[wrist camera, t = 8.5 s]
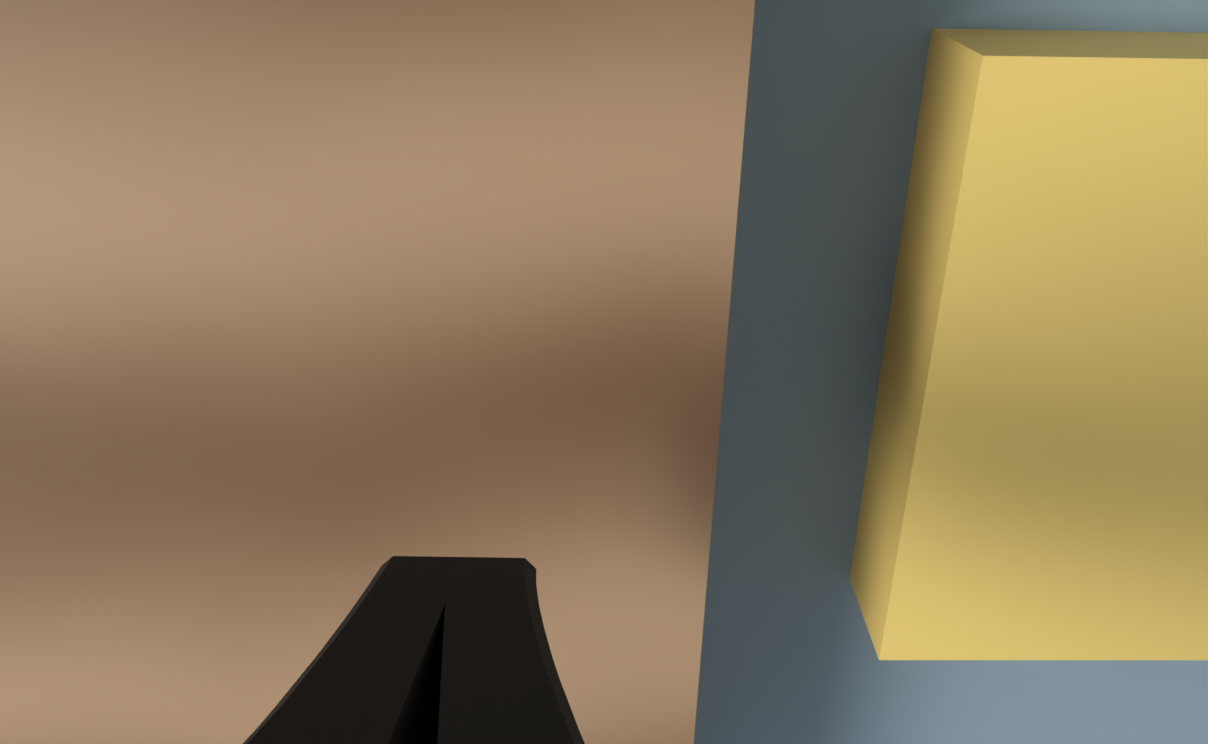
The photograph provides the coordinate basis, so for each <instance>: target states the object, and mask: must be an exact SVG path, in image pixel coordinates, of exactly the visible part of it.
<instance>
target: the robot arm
mask: <svg viewBox="0 0 1208 744" xmlns="http://www.w3.org/2000/svg"><path fill="white" fill-rule="evenodd" d="M243 744H585V743H584V740H583V738H582V736H581V733H580V731H579V729H578V726H577V723H576V721H575V718H574V715H573V713H572V710H571V708H570V705H569V702H568V700H567V697H566V694H565V692H564V689H563V686H562V684H561V681H560V679H559V675H558V672H557V669H556V666H555V663H554V660H553V657H552V654H551V650H550V647H549V643H548V640H547V636H546V632H545V629H544V625H543V621H542V616H541V612H540V607H539V601H538V594H537V585H536V568H535V567H534V566H533V565H532V564H531V563H530V562H529V561H527V560H526V559H525V558H496V557H428V556H392V557H391V558H390V559H389V560H388V561H386V562H385V563H384V564H383V565H382V566H381V567H380V569H379V570H378V572H377V573H376V575H375V576H374V578H373V579H372V581H371V582H370V584H369V585H368V587H367V588H366V589H365V591H364V592H363V594H362V595H361V597H360V598H359V599H358V601H357V602H356V604H355V605H354V607H353V608H352V609H351V611H350V612H349V613H348V615H347V616H346V618H345V619H344V620H343V622H342V623H341V624H340V626H339V627H338V628H337V630H336V631H335V632H334V634H333V635H332V636H331V638H330V639H329V640H328V642H327V643H326V644H325V646H324V647H323V648H322V650H321V651H320V652H319V653H318V655H317V656H316V657H315V658H314V660H313V661H312V662H311V663H310V665H309V666H308V667H307V668H306V669H305V671H304V672H303V673H302V674H301V676H300V677H299V678H298V679H297V681H296V682H295V683H294V684H293V685H292V687H291V688H290V689H289V690H288V692H287V693H286V694H285V695H284V697H283V698H282V699H281V700H280V701H279V703H278V704H277V705H276V706H275V708H274V709H273V710H272V711H271V712H270V714H269V715H268V716H267V717H266V718H265V719H264V721H263V722H262V723H261V724H260V725H259V726H258V727H257V729H256V730H255V731H254V732H253V733H252V734H251V735H250V736H249V737H248V738H247V740H246V741H245V742H244V743H243Z"/></svg>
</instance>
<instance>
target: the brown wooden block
mask: <svg viewBox="0 0 1208 744" xmlns="http://www.w3.org/2000/svg"><path fill="white" fill-rule="evenodd" d="M754 7H755V0H0V744H243V743H244V742H245V741H246V740H247V738H248V737H249V736H250V735H251V734H252V733H253V732H254V731H255V730H256V729H257V727H258V726H259V725H260V724H261V723H262V722H263V721H264V719H265V718H266V717H267V716H268V715H269V714H270V712H271V711H272V710H273V709H274V708H275V706H276V705H277V704H278V703H279V701H280V700H281V699H282V698H283V697H284V695H285V694H286V693H287V692H288V690H289V689H290V688H291V687H292V685H293V684H294V683H295V682H296V681H297V679H298V678H299V677H300V676H301V674H302V673H303V672H304V671H305V669H306V668H307V667H308V666H309V665H310V663H311V662H312V661H313V660H314V658H315V657H316V656H317V655H318V653H319V652H320V651H321V650H322V648H323V647H324V646H325V644H326V643H327V642H328V640H329V639H330V638H331V636H332V635H333V634H334V632H335V631H336V630H337V628H338V627H339V626H340V624H341V623H342V622H343V620H344V619H345V618H346V616H347V615H348V613H349V612H350V611H351V609H352V608H353V607H354V605H355V604H356V602H357V601H358V599H359V598H360V597H361V595H362V594H363V592H364V591H365V589H366V588H367V587H368V585H369V584H370V582H371V581H372V579H373V578H374V576H375V575H376V573H377V572H378V570H379V569H380V567H381V566H382V565H383V564H384V563H385V562H386V561H388V560H389V559H390V558H391V557H392V556H428V557H496V558H525V559H526V560H527V561H529V562H530V563H531V564H532V565H533V566H534V567H535V568H536V585H537V594H538V601H539V607H540V612H541V616H542V621H543V625H544V629H545V632H546V636H547V640H548V643H549V647H550V650H551V654H552V657H553V660H554V663H555V666H556V669H557V672H558V675H559V679H560V681H561V684H562V686H563V689H564V692H565V694H566V697H567V700H568V702H569V705H570V708H571V710H572V713H573V715H574V718H575V721H576V723H577V726H578V729H579V731H580V733H581V736H582V738H583V740H584V743H585V744H694V732H695V720H696V708H697V696H698V684H699V672H700V660H701V648H702V636H703V623H704V611H705V599H706V587H707V575H708V563H709V551H710V539H711V527H712V515H713V503H714V491H715V478H716V466H717V454H718V442H719V430H720V418H721V406H722V394H723V382H724V370H725V358H726V345H727V333H728V321H729V309H730V297H731V285H732V273H733V261H734V249H735V237H736V225H737V213H738V200H739V188H740V176H741V164H742V152H743V140H744V128H745V116H746V104H747V92H748V80H749V68H750V55H751V43H752V31H753V19H754Z"/></svg>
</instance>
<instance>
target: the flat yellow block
mask: <svg viewBox="0 0 1208 744" xmlns="http://www.w3.org/2000/svg"><path fill="white" fill-rule="evenodd" d="M850 582H851V585H852V587H853V590H854V593H855V596H856V598H857V601H858V604H859V607H860V609H861V612H862V615H863V618H864V620H865V623H866V626H867V629H868V631H869V634H870V637H871V640H872V642H873V645H874V648H875V651H876V653H877V656H878V659H879V660H1208V33H1197V32H1132V31H1067V30H1002V29H937V28H932V30H931V36H930V43H929V50H928V56H927V63H926V70H925V76H924V83H923V90H922V97H921V103H920V110H919V117H918V123H917V130H916V137H915V143H914V150H913V157H912V164H911V170H910V177H909V184H908V190H907V197H906V204H905V210H904V217H903V224H902V231H901V237H900V244H899V251H898V257H897V264H896V271H895V277H894V284H893V291H892V298H891V304H890V311H889V318H888V324H887V331H886V338H885V344H884V351H883V358H882V365H881V371H880V378H879V385H878V391H877V398H876V405H875V411H874V418H873V425H872V432H871V438H870V445H869V452H868V458H867V465H866V472H865V478H864V485H863V492H862V499H861V505H860V512H859V519H858V525H857V532H856V539H855V546H854V552H853V559H852V566H851V572H850Z"/></svg>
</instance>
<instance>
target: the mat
mask: <svg viewBox="0 0 1208 744" xmlns="http://www.w3.org/2000/svg"><path fill="white" fill-rule="evenodd" d="M932 28H937V29H1002V30H1067V31H1132V32H1197V33H1208V0H755V7H754V19H753V31H752V43H751V55H750V68H749V80H748V92H747V104H746V116H745V128H744V140H743V152H742V164H741V176H740V188H739V200H738V213H737V225H736V237H735V249H734V261H733V273H732V285H731V297H730V309H729V321H728V333H727V345H726V358H725V370H724V382H723V394H722V406H721V418H720V430H719V442H718V454H717V466H716V478H715V491H714V503H713V515H712V527H711V539H710V551H709V563H708V575H707V587H706V599H705V611H704V623H703V636H702V648H701V660H700V672H699V684H698V696H697V708H696V720H695V732H694V744H1208V660H879V659H878V656H877V653H876V651H875V648H874V645H873V642H872V640H871V637H870V634H869V631H868V629H867V626H866V623H865V620H864V618H863V615H862V612H861V609H860V607H859V604H858V601H857V598H856V596H855V593H854V590H853V587H852V585H851V582H850V572H851V566H852V559H853V552H854V546H855V539H856V532H857V525H858V519H859V512H860V505H861V499H862V492H863V485H864V478H865V472H866V465H867V458H868V452H869V445H870V438H871V432H872V425H873V418H874V411H875V405H876V398H877V391H878V385H879V378H880V371H881V365H882V358H883V351H884V344H885V338H886V331H887V324H888V318H889V311H890V304H891V298H892V291H893V284H894V277H895V271H896V264H897V257H898V251H899V244H900V237H901V231H902V224H903V217H904V210H905V204H906V197H907V190H908V184H909V177H910V170H911V164H912V157H913V150H914V143H915V137H916V130H917V123H918V117H919V110H920V103H921V97H922V90H923V83H924V76H925V70H926V63H927V56H928V50H929V43H930V36H931V30H932Z"/></svg>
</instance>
